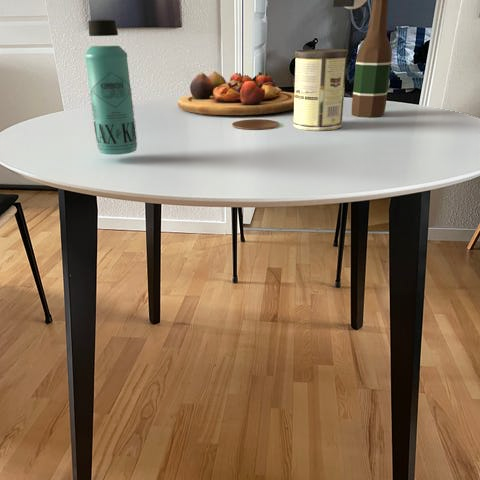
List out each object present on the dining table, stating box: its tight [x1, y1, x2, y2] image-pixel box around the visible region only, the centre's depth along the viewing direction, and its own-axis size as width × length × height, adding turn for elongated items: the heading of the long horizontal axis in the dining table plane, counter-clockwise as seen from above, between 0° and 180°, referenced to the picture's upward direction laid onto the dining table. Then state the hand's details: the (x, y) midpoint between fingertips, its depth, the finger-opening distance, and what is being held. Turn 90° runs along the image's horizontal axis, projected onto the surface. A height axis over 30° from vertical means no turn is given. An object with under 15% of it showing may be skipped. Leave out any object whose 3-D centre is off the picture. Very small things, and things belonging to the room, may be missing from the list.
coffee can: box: [292, 48, 349, 132], centre depth 101 cm, size 10×10×14 cm
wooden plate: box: [177, 71, 295, 116], centre depth 126 cm, size 32×32×8 cm
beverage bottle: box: [84, 18, 139, 156], centre depth 77 cm, size 6×7×20 cm
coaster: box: [232, 118, 280, 131], centre depth 107 cm, size 10×10×1 cm
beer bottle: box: [351, 0, 393, 118], centre depth 110 cm, size 8×8×24 cm
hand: (350, 6), depth 72 cm, fingers closed on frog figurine, 6 cm apart
